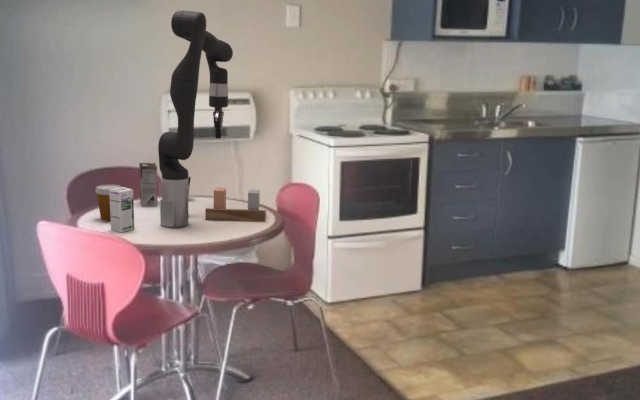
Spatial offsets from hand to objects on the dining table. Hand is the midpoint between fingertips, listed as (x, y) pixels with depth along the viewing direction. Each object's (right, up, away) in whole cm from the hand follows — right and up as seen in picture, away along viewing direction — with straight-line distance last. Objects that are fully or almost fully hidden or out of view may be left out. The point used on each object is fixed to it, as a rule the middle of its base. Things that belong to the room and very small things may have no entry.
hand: (218, 138), depth 271 cm
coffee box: (-28, -27, 0) cm, 39 cm away
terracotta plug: (+3, -31, -13) cm, 33 cm away
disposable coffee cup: (-36, -32, -25) cm, 54 cm away
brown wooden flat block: (+9, -31, -15) cm, 36 cm away
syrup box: (-27, -35, -38) cm, 59 cm away
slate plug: (+16, -31, -15) cm, 38 cm away
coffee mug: (-18, -25, +8) cm, 32 cm away
